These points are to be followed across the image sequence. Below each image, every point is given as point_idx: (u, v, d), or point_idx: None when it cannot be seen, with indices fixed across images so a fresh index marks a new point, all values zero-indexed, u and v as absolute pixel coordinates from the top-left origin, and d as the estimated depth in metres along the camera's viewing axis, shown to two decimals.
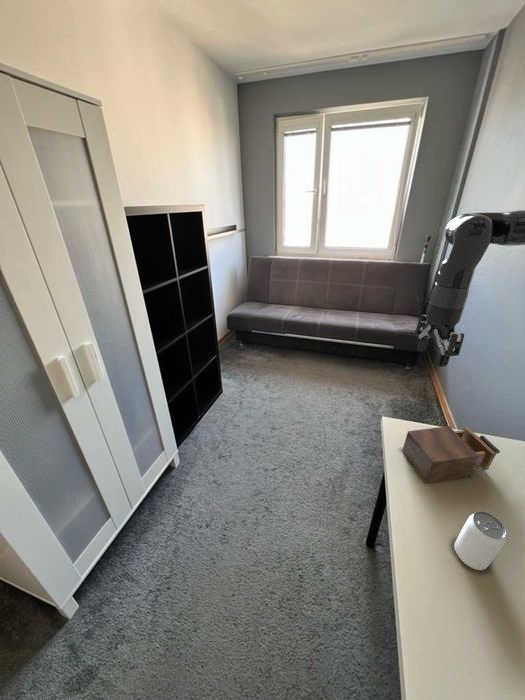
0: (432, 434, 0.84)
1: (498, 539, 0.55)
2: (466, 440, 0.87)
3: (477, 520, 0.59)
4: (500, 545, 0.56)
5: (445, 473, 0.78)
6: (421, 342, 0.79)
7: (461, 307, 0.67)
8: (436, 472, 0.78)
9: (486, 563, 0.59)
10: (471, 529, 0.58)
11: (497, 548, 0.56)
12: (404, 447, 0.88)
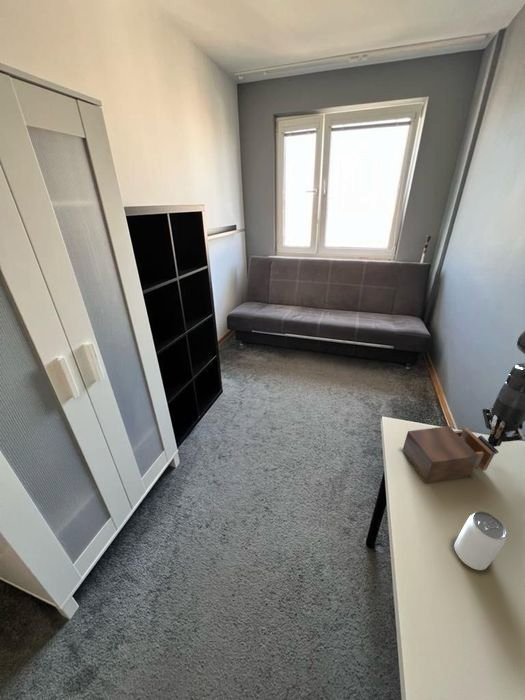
0: (432, 434, 0.84)
1: (498, 539, 0.55)
2: (465, 440, 0.87)
3: (477, 520, 0.59)
4: (500, 545, 0.56)
5: (445, 473, 0.78)
6: (493, 437, 0.83)
7: None
8: (436, 472, 0.78)
9: (486, 563, 0.59)
10: (471, 529, 0.58)
11: (497, 548, 0.56)
12: (404, 447, 0.88)
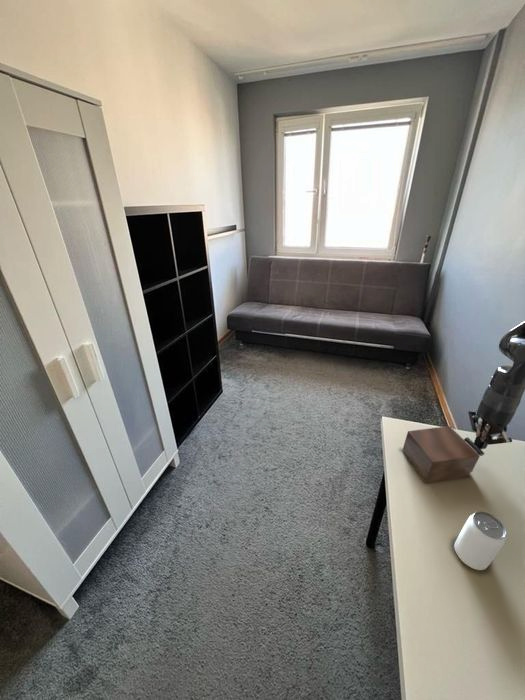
0: (432, 434, 0.84)
1: (498, 539, 0.55)
2: None
3: (477, 520, 0.59)
4: (500, 545, 0.56)
5: (445, 473, 0.78)
6: (479, 440, 0.83)
7: (514, 411, 0.73)
8: (436, 472, 0.78)
9: (486, 563, 0.59)
10: (471, 529, 0.58)
11: (497, 548, 0.56)
12: (404, 447, 0.88)
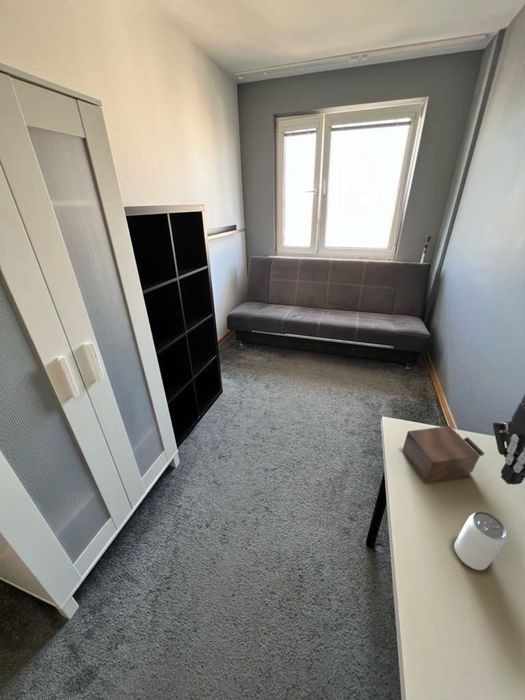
0: (432, 434, 0.84)
1: (498, 539, 0.55)
2: None
3: (477, 520, 0.59)
4: (500, 545, 0.56)
5: (445, 473, 0.78)
6: (510, 470, 0.51)
7: None
8: (436, 472, 0.78)
9: (486, 563, 0.59)
10: (471, 529, 0.58)
11: (497, 548, 0.56)
12: (404, 447, 0.88)
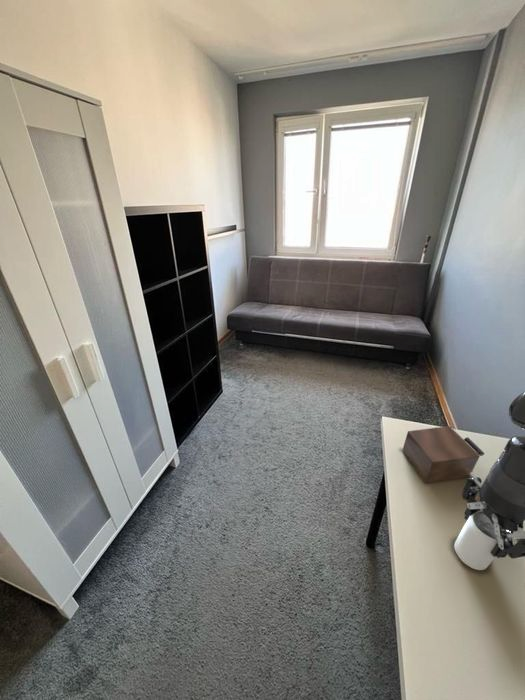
0: (432, 434, 0.84)
1: None
2: None
3: (477, 520, 0.59)
4: None
5: (445, 473, 0.78)
6: (471, 513, 0.61)
7: None
8: (436, 472, 0.78)
9: (486, 563, 0.59)
10: (471, 529, 0.58)
11: None
12: (404, 447, 0.88)
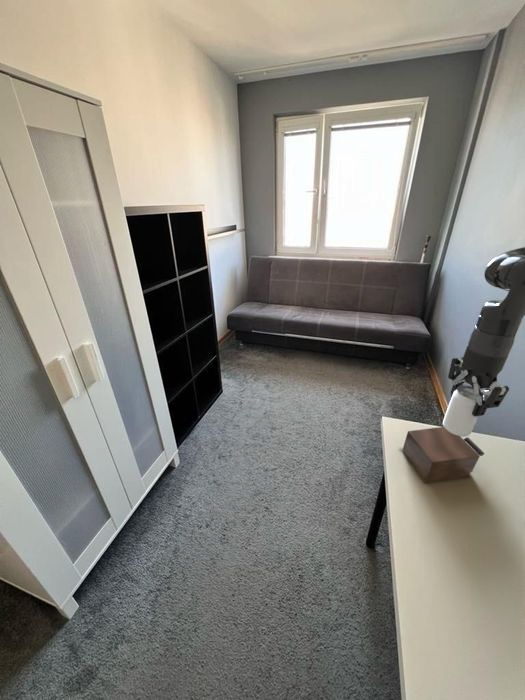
0: (432, 434, 0.84)
1: None
2: None
3: (461, 390, 0.69)
4: None
5: (445, 473, 0.78)
6: (456, 389, 0.71)
7: (506, 355, 0.59)
8: (436, 472, 0.78)
9: (469, 427, 0.69)
10: (455, 397, 0.69)
11: None
12: (404, 447, 0.88)
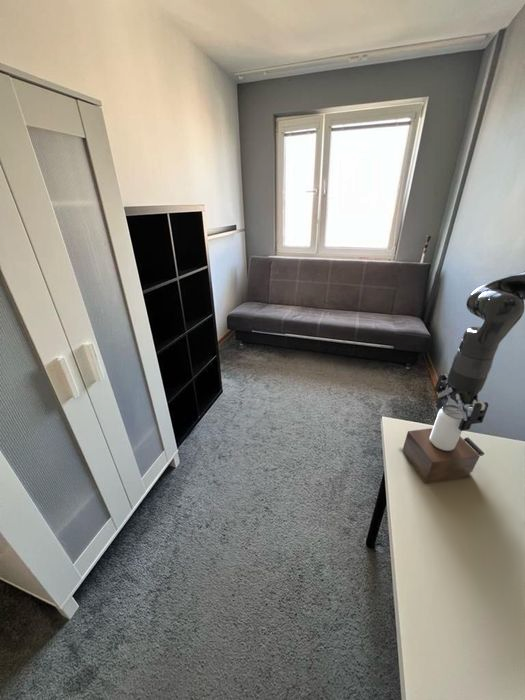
0: None
1: (459, 419, 0.73)
2: None
3: (445, 409, 0.76)
4: None
5: (445, 473, 0.78)
6: (441, 401, 0.78)
7: (485, 376, 0.66)
8: (436, 472, 0.78)
9: (452, 443, 0.76)
10: (440, 416, 0.76)
11: None
12: (404, 447, 0.88)
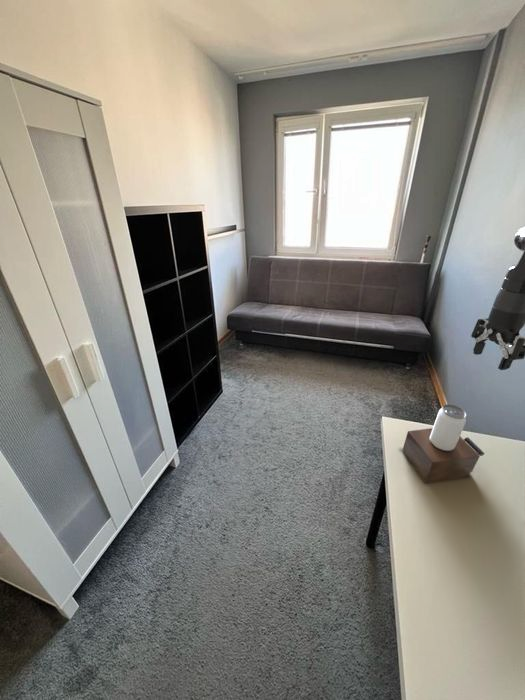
0: None
1: (459, 419, 0.73)
2: None
3: (445, 409, 0.76)
4: (461, 424, 0.73)
5: (445, 473, 0.78)
6: (478, 345, 0.81)
7: None
8: (436, 472, 0.78)
9: (452, 443, 0.76)
10: (440, 416, 0.76)
11: (459, 427, 0.74)
12: (404, 447, 0.88)
